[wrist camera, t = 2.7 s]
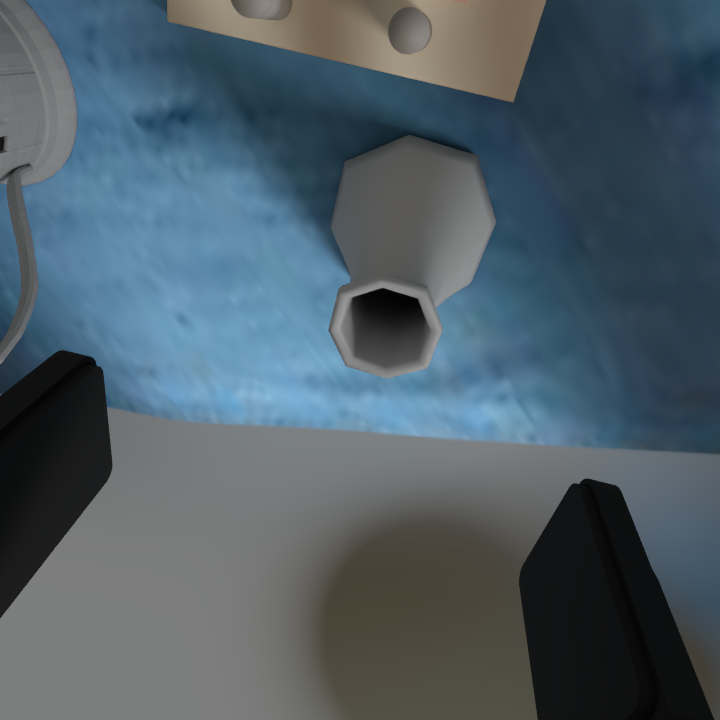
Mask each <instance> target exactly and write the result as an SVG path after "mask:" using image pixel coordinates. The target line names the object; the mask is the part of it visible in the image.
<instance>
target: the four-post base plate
mask: <svg viewBox="0 0 720 720" xmlns="http://www.w3.org/2000/svg"><path fill="white" fill-rule="evenodd" d="M545 3H546V0H167V21H168V22H172V23H176V24H180V25H185V26H189V27H193V28H198V29H202V30H206V31H210V32H215V33H219V34H223V35H227V36H232V37H236V38H240V39H245V40H249V41H253V42H257V43H262V44H266V45H270V46H275V47H279V48H283V49H287V50H292V51H296V52H300V53H304V54H309V55H313V56H317V57H322V58H326V59H330V60H334V61H339V62H343V63H347V64H351V65H356V66H360V67H364V68H369V69H373V70H377V71H381V72H386V73H390V74H394V75H399V76H403V77H407V78H411V79H416V80H420V81H424V82H428V83H433V84H437V85H441V86H446V87H450V88H454V89H458V90H463V91H467V92H471V93H476V94H480V95H484V96H488V97H493V98H497V99H501V100H505V101H510V102H513V101H514V98H515V95H516V92H517V89H518V86H519V83H520V80H521V77H522V74H523V71H524V67H525V64H526V61H527V58H528V55H529V52H530V49H531V46H532V43H533V40H534V37H535V34H536V30H537V27H538V24H539V21H540V18H541V15H542V12H543V9H544V6H545Z"/></svg>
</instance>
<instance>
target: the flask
mask: <svg viewBox="0 0 720 720" xmlns="http://www.w3.org/2000/svg"><path fill="white" fill-rule="evenodd" d="M495 224H496V220H495V216H494V213H493V209H492V206H491V202H490V198H489V195H488V191H487V188H486V184H485V181H484V177H483V173H482V170H481V166H480V163H479V159H478V156H477V155H474V154H471V153H468V152H464V151H461V150H458V149H454V148H451V147H448V146H445V145H441V144H438V143H435V142H431V141H428V140H425V139H422V138H418V137H415V136H412V135H407V136H405V137H402V138H400V139H397V140H395V141H393V142H390V143H388V144H385V145H383V146H381V147H378V148H376V149H373V150H371V151H369V152H366V153H364V154H361V155H359V156H357V157H354V158H352V159H349V160H347V161H345V162H344V166H343V171H342V175H341V180H340V184H339V189H338V193H337V198H336V202H335V206H334V211H333V215H332V220H331V224H330V227H331V230H332V232H333V235H334V237H335V239H336V241H337V244H338V246H339V248H340V251H341V253H342V255H343V257H344V260H345V263H346V265H347V268H348V271H349V274H350V277H351V283H349V284H346V285H343V286H341V287H340V288H339V290H338V294H337V298H336V302H335V306H334V310H333V314H332V318H331V322H330V326H329V332H330V334H331V337H332V339H333V341H334V343H335V345H336V347H337V349H338V351H339V353H340V355H341V357H342V359H343V361H344V363H345V365H346V366H348V367H351V368H354V369H358V370H361V371H364V372H367V373H371V374H374V375H377V376H381V377H384V378H390V377H394V376H398V375H402V374H406V373H410V372H414V371H418V370H422V369H426V368H428V366H429V363H430V361H431V358H432V356H433V353H434V351H435V348H436V346H437V343H438V341H439V338H440V336H441V333H442V329H443V327H442V325H441V322H440V319H439V316H438V314H437V311H436V307H437V306H439V305H440V304H441V303H442V302H443V301H445V300H446V299H447V298H448V297H450V296H451V295H452V294H454V293H455V292H457V291H459V290H460V289H462V288H463V287H465V286H467V285H468V284H469V283H470V282H472V279H473V277H474V275H475V272H476V270H477V267H478V265H479V263H480V260H481V258H482V255H483V253H484V250H485V248H486V246H487V243H488V241H489V238H490V236H491V233H492V231H493V229H494V226H495Z"/></svg>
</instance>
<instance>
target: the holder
mask: <svg viewBox="0 0 720 720" xmlns="http://www.w3.org/2000/svg"><path fill="white" fill-rule="evenodd" d="M76 130H77V106H76V99H75V93H74V88H73V85H72V81H71V78H70V74H69V71H68V68H67V66H66V64H65V61H64V59H63V57H62V54H61V52H60V50H59V48H58V46H57V44H56V43H55V41H54V39H53V37H52V36H51V34H50V32H49V31H48V29H47V27H46V26H45V25H44V23H43V22H42V21H41V19H40V18H39V17H38V15H37V14H36V13H35V11H34V10H33V9H32V8H31V6H30V5H29V4H28V3H27V2H26V1H25V0H0V183H2V184H7V198H8V206H9V211H10V216H11V221H12V225H13V230H14V234H15V238H16V242H17V248H18V254H19V262H20V271H21V295H20V299H19V303H18V307H17V311H16V313H15V316H14V318H13V321H12V323H11V326H10V328H9V330H8V333H7V335H6V336H5V337H4V339H3V340H2V341H1V343H0V364H1V363H2V362H3V360H4V359H5V358H6V356H7V355H8V354H9V352H10V351H11V350H12V348H13V347H14V346H15V344H16V343H17V342H18V340H19V339H20V338H21V336H22V334H23V332H24V330H25V327H26V325H27V323H28V321H29V318H30V316H31V314H32V311H33V307H34V304H35V300H36V296H37V293H38V288H39V286H38V273H37V265H36V259H35V254H34V247H33V240H32V235H31V230H30V226H29V222H28V217H27V213H26V208H25V203H24V199H23V192H22V185H30V184H34V183H39V182H42V181H44V180H46V179H48V178H50V177H52V176H53V175H54V174H55V173H56V172H57V171H58V170H60V169H61V168H62V166H63V165H64V163H65V162H66V160H67V159H68V158H69V156H70V153H71V150H72V148H73V145H74V142H75V136H76Z"/></svg>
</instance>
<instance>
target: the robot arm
mask: <svg viewBox="0 0 720 720" xmlns="http://www.w3.org/2000/svg"><path fill="white" fill-rule="evenodd" d="M111 470H112V455H111V445H110V436H109V425H108V416H107V405H106V395H105V385H104V375H103V370H102V368H101V367H99V366H97V365H96V361H95V360H94V358H92V357H89V356H85V355H81V354H77V353H73V352H69V351H65V350H61V351H58V352H56V353H55V354H53V355H52V356H51V357H49V358H48V359H47V360H46V361H44V362H43V363H42V364H41V365H39V366H38V367H37V368H35V369H34V370H33V371H32V372H30V373H29V374H28V375H27V376H25V377H24V378H23V379H21V380H20V381H19V382H18V383H16V384H15V385H14V386H12V387H11V388H10V389H9V390H7V391H6V392H5V393H4V394H2V395H1V396H0V618H1V617H2V615H3V614H4V613H5V611H6V610H7V609H8V608H9V606H10V605H11V604H12V603H13V601H14V600H15V599H16V597H17V596H18V595H19V594H20V592H21V591H22V590H23V588H24V587H25V586H26V585H27V583H28V582H29V581H30V579H31V578H32V577H33V576H34V574H35V573H36V572H37V570H38V569H39V568H40V567H41V565H42V564H43V563H44V561H45V560H46V559H47V557H48V556H49V555H50V554H51V552H52V551H53V550H54V548H55V547H56V546H57V545H58V544H59V542H60V541H61V540H62V538H63V537H64V536H65V535H66V533H67V532H68V531H69V529H70V528H71V527H72V525H73V524H74V523H75V522H76V520H77V519H78V518H79V516H80V515H81V514H82V513H83V511H84V510H85V509H86V507H87V506H88V505H89V504H90V502H91V501H92V500H93V499H94V497H95V496H96V495H97V493H98V492H99V491H100V490H101V488H102V487H103V486H104V484H105V483H106V482H107V480H108V478H109V476H110V474H111ZM519 587H520V594H521V601H522V608H523V615H524V623H525V630H526V636H527V644H528V651H529V659H530V666H531V673H532V680H533V688H534V695H535V702H536V710H537V717H538V720H714V718H713V716H712V713H711V711H710V708H709V706H708V703H707V701H706V698H705V696H704V693H703V691H702V688H701V686H700V683H699V681H698V678H697V676H696V673H695V671H694V668H693V666H692V663H691V661H690V658H689V656H688V653H687V651H686V648H685V646H684V643H683V641H682V638H681V636H680V633H679V631H678V628H677V626H676V623H675V621H674V618H673V616H672V613H671V611H670V608H669V606H668V603H667V601H666V598H665V596H664V593H663V591H662V588H661V586H660V583H659V581H658V579H657V577H656V575H655V573H654V571H653V570H652V568H651V566H650V563H649V560H648V558H647V555H646V553H645V550H644V547H643V545H642V542H641V540H640V537H639V535H638V532H637V530H636V527H635V525H634V522H633V520H632V517H631V515H630V512H629V510H628V507H627V505H626V502H625V500H624V497H623V495H622V492H621V490H620V489H619V487H617V486H616V485H611V484H608V483H604V482H599V481H596V480H591V479H584V480H582V481H581V482H580V484H575V483H574V484H572V485H571V486H570V487H569V489H568V491H567V492H566V494H565V496H564V497H563V499H562V501H561V502H560V504H559V506H558V507H557V509H556V511H555V512H554V514H553V516H552V518H551V519H550V521H549V522H548V524H547V526H546V527H545V529H544V531H543V532H542V534H541V536H540V538H539V539H538V541H537V543H536V544H535V546H534V547H533V549H532V551H531V552H530V554H529V556H528V557H527V559H526V561H525V563H524V564H523V566H522V568H521V572H520V577H519Z"/></svg>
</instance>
